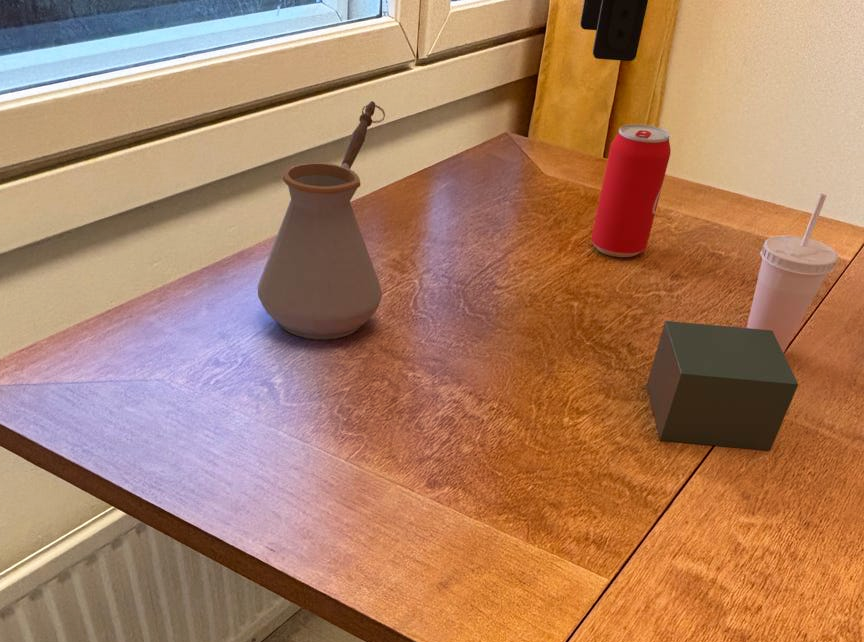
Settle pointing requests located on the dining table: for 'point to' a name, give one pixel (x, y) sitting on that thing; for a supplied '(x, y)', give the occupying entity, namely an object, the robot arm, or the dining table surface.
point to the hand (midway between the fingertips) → (605, 43)
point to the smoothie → (790, 280)
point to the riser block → (719, 385)
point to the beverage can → (631, 190)
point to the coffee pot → (322, 251)
